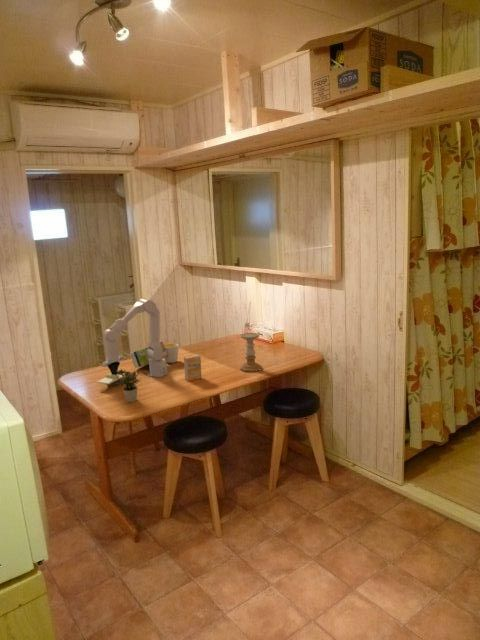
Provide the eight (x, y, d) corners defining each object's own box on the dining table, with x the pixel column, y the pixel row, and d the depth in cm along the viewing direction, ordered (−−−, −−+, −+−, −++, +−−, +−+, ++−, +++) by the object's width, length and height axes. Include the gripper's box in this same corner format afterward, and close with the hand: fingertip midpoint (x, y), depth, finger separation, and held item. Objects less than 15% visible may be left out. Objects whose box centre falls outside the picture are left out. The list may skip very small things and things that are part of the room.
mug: (182, 361, 291) (181, 345, 289) (168, 365, 286) (166, 348, 284) (172, 357, 302) (171, 341, 300) (157, 360, 296) (156, 344, 294)
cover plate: (113, 375, 262) (112, 371, 261) (124, 376, 258) (123, 372, 258) (97, 382, 251) (96, 378, 250) (108, 384, 247) (108, 380, 247)
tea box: (135, 369, 281) (153, 363, 273) (129, 353, 281) (146, 346, 273) (151, 362, 294) (168, 356, 286) (145, 347, 294) (162, 340, 286)
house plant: (107, 404, 232) (104, 372, 228) (124, 393, 244) (121, 363, 241) (132, 407, 227) (129, 374, 223) (148, 396, 239) (145, 365, 236)
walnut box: (121, 376, 270) (121, 369, 269) (136, 378, 266) (135, 371, 265) (106, 384, 259) (105, 376, 258) (121, 386, 255) (120, 378, 254)
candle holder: (242, 365, 282) (241, 332, 277) (263, 365, 279) (262, 332, 275) (238, 371, 270) (237, 337, 265) (259, 372, 268) (258, 338, 263)
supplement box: (188, 381, 258) (186, 358, 255) (184, 379, 262) (183, 356, 259) (202, 378, 262) (200, 355, 259) (198, 376, 266) (197, 353, 263)
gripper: (115, 347, 262) (117, 370, 265) (96, 354, 249) (99, 379, 252) (125, 348, 259) (127, 371, 262) (107, 355, 246) (109, 380, 249)
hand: (114, 375), depth 257 cm, fingers closed
